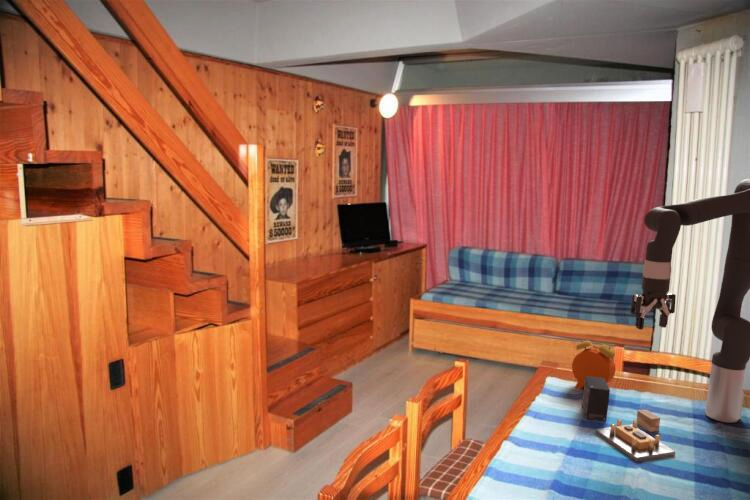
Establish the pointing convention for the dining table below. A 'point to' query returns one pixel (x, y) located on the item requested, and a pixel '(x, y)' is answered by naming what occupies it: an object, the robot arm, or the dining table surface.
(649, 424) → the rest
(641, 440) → the board
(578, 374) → the alarm clock
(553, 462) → the dining table surface
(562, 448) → the dining table surface
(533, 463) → the dining table surface
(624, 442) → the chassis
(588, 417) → the small box
